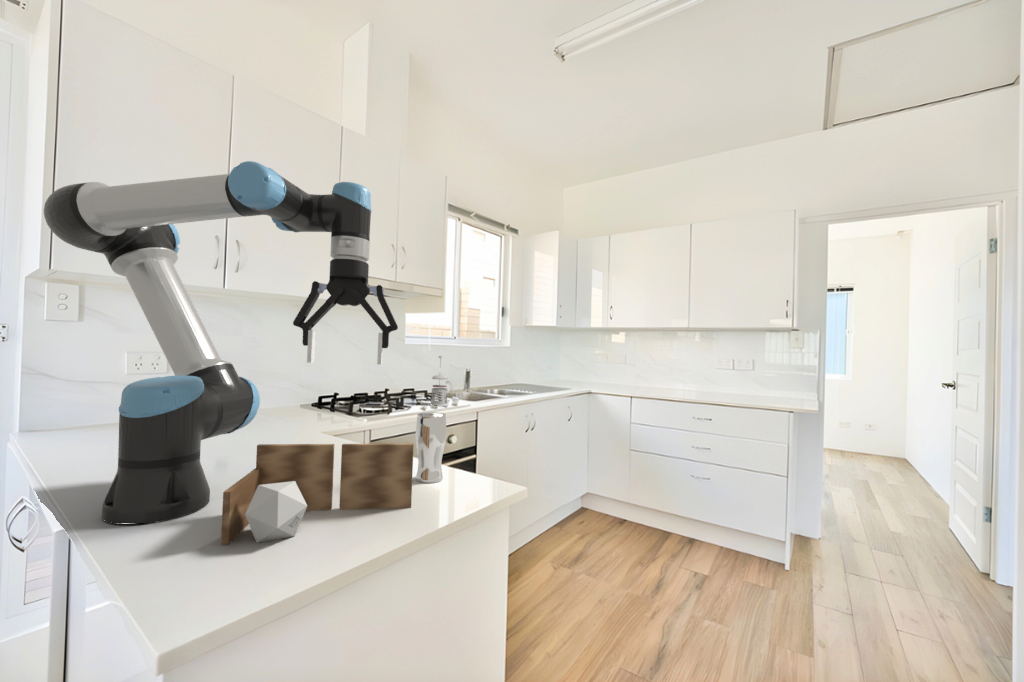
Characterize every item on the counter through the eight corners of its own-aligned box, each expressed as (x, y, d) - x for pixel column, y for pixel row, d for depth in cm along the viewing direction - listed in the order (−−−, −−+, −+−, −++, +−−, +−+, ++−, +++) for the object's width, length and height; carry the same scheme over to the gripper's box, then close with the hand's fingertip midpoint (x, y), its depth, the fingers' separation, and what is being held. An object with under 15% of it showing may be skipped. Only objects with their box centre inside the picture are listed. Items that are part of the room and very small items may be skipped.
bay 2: (339, 509, 82) (341, 445, 82) (340, 507, 83) (342, 443, 83) (411, 507, 85) (413, 444, 85) (411, 505, 86) (413, 443, 86)
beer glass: (430, 485, 98) (432, 417, 98) (407, 479, 101) (409, 414, 102) (450, 478, 104) (453, 414, 104) (428, 473, 107) (430, 411, 107)
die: (285, 555, 66) (323, 490, 71) (226, 530, 63) (270, 465, 69) (282, 553, 73) (316, 494, 78) (229, 530, 70) (268, 471, 76)
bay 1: (220, 545, 67) (224, 465, 67) (256, 510, 80) (259, 444, 81) (312, 541, 69) (315, 464, 69) (331, 508, 83) (334, 443, 83)
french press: (434, 403, 231) (435, 355, 231) (454, 404, 228) (456, 356, 228) (425, 405, 221) (427, 355, 221) (447, 407, 218) (449, 356, 218)
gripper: (278, 252, 86) (274, 362, 85) (410, 261, 90) (406, 365, 90) (290, 259, 93) (286, 360, 93) (412, 267, 98) (408, 363, 98)
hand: (345, 363), depth 91 cm, fingers open, 13 cm apart
